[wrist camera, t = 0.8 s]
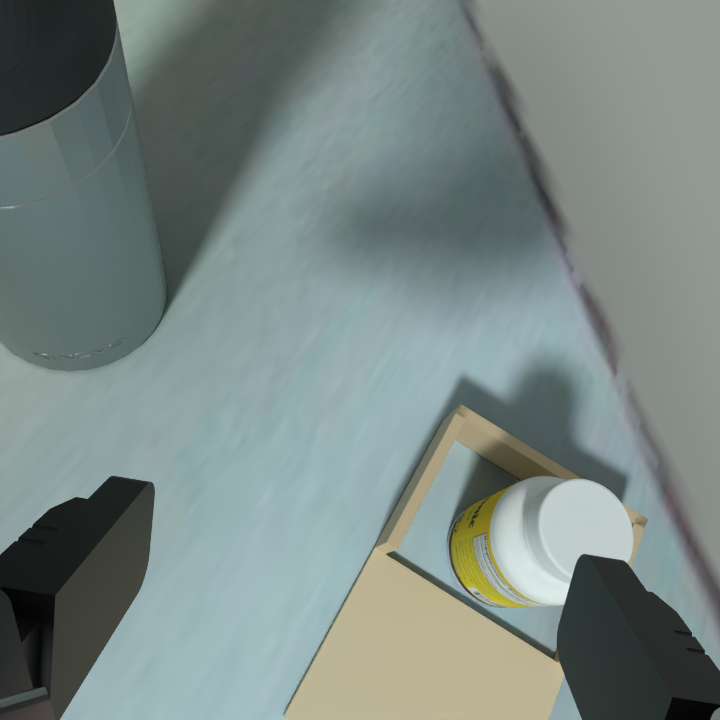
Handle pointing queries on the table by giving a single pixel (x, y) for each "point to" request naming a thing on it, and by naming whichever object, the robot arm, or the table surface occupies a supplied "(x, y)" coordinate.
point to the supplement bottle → (535, 540)
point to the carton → (432, 621)
